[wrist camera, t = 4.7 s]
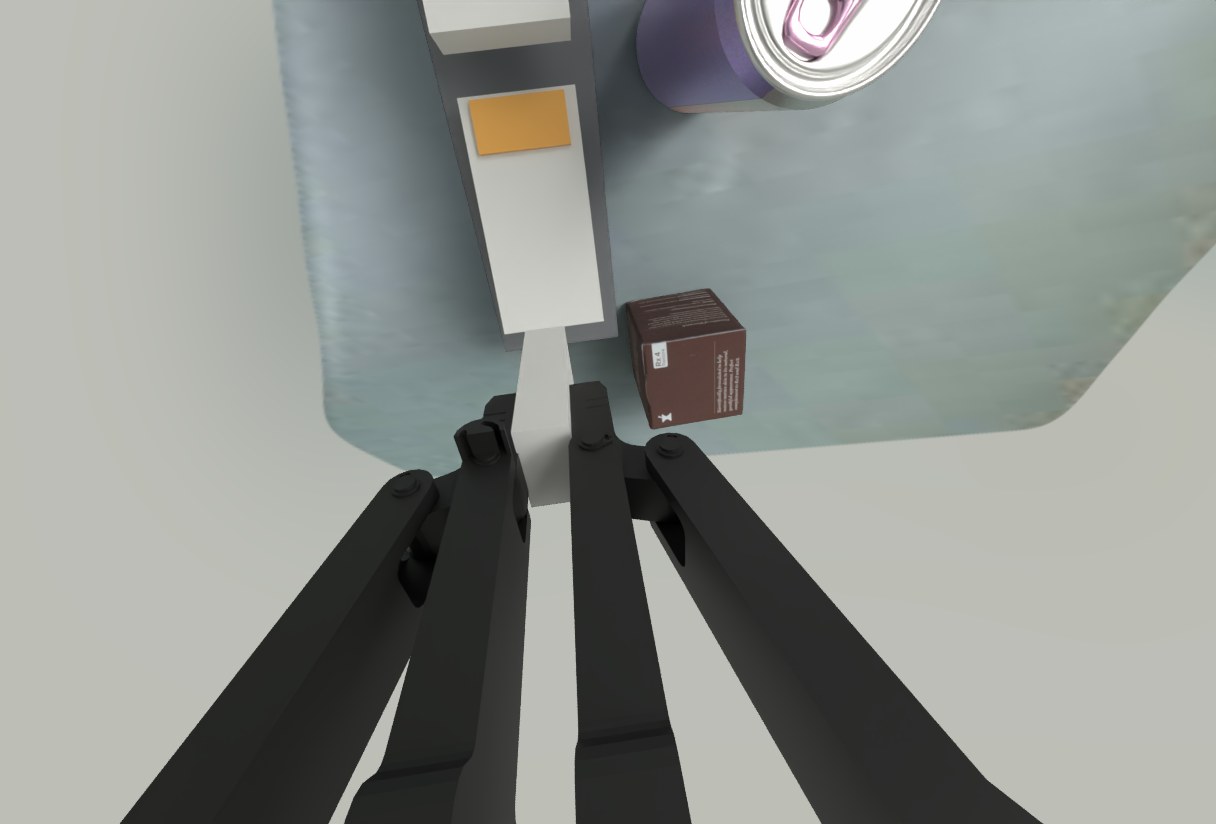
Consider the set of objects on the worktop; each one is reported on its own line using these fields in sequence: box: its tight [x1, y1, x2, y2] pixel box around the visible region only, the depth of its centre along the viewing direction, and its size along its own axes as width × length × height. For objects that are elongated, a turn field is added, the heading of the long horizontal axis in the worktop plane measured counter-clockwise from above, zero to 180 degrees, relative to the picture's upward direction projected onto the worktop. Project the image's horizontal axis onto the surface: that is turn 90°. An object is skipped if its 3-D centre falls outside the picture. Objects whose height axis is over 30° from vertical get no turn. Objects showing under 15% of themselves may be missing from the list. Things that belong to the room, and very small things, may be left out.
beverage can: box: [636, 0, 941, 113], centre depth 17 cm, size 6×6×15 cm
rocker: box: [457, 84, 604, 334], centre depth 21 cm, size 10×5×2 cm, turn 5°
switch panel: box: [417, 0, 618, 352], centre depth 22 cm, size 25×7×5 cm, turn 6°
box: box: [626, 289, 746, 429], centre depth 29 cm, size 6×6×7 cm
